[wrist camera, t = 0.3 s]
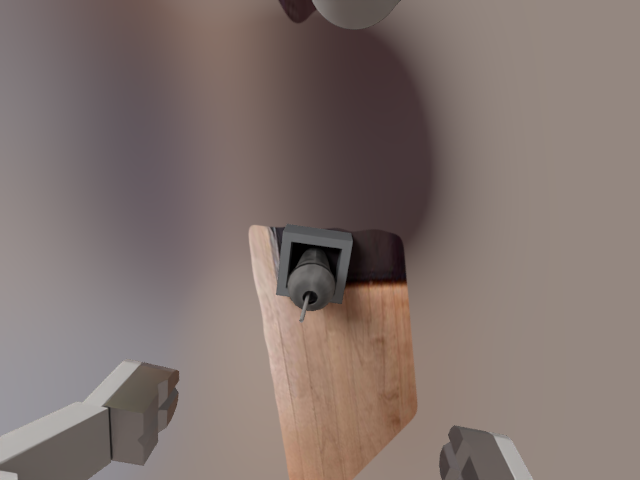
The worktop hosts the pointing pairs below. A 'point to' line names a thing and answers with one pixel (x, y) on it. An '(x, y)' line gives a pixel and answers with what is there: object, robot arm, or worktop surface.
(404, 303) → the worktop surface
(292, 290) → the beverage cup
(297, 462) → the worktop surface
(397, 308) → the worktop surface
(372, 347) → the worktop surface
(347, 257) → the holder block
